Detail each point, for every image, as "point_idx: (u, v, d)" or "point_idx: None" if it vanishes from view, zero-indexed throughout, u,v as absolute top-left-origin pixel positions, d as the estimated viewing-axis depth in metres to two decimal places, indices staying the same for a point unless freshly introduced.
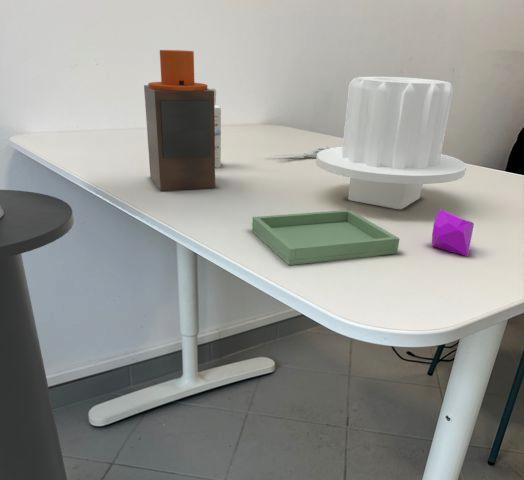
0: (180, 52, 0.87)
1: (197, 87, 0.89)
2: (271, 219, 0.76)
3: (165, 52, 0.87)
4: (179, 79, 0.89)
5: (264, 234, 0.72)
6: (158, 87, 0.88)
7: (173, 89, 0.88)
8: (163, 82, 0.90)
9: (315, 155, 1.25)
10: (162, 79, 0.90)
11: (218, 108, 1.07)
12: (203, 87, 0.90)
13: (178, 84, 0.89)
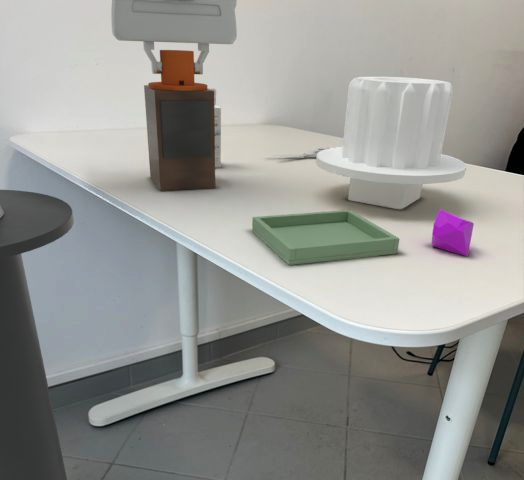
0: (180, 52, 0.87)
1: (197, 87, 0.89)
2: (271, 219, 0.76)
3: (165, 52, 0.87)
4: (179, 79, 0.89)
5: (264, 234, 0.72)
6: (158, 87, 0.88)
7: (173, 89, 0.88)
8: (163, 82, 0.90)
9: (315, 155, 1.25)
10: (162, 79, 0.90)
11: (218, 108, 1.07)
12: (203, 87, 0.90)
13: (178, 84, 0.89)
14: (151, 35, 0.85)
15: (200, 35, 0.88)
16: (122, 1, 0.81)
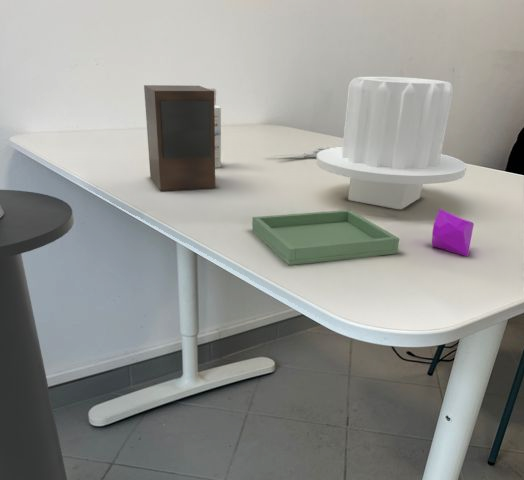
0: None
1: None
2: (271, 219, 0.76)
3: None
4: None
5: (264, 234, 0.72)
6: None
7: None
8: None
9: (315, 155, 1.25)
10: None
11: (218, 108, 1.07)
12: None
13: None
14: None
15: None
16: None
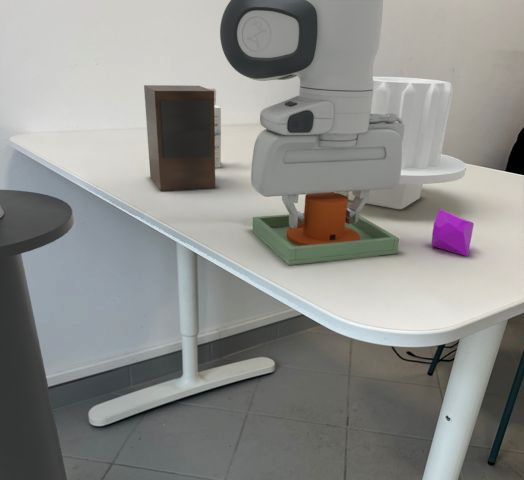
0: (336, 203, 0.69)
1: None
2: (271, 219, 0.76)
3: (316, 203, 0.69)
4: (330, 234, 0.71)
5: (264, 234, 0.72)
6: None
7: None
8: (308, 235, 0.72)
9: None
10: (306, 231, 0.72)
11: (218, 108, 1.07)
12: None
13: (328, 239, 0.71)
14: (302, 188, 0.67)
15: (359, 183, 0.70)
16: (274, 154, 0.63)
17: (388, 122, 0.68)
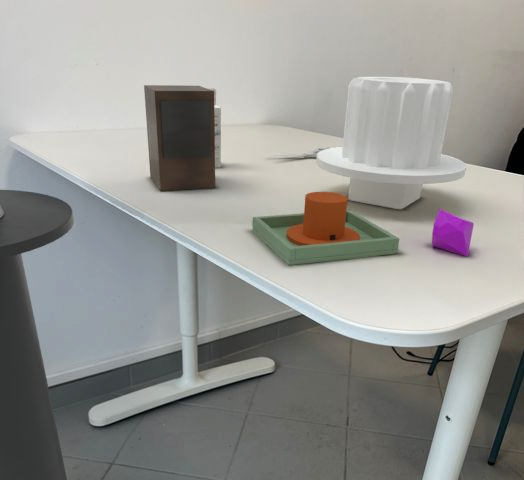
0: (336, 203, 0.69)
1: None
2: (271, 219, 0.76)
3: (316, 203, 0.69)
4: (330, 234, 0.71)
5: (264, 234, 0.72)
6: None
7: None
8: (308, 235, 0.72)
9: (315, 155, 1.25)
10: (306, 231, 0.72)
11: (218, 108, 1.07)
12: None
13: (328, 239, 0.71)
14: None
15: None
16: None
17: None
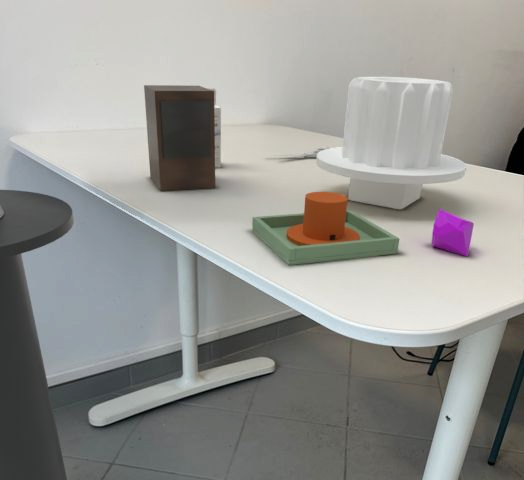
0: (336, 203, 0.69)
1: None
2: (271, 219, 0.76)
3: (316, 203, 0.69)
4: (330, 234, 0.71)
5: (264, 234, 0.72)
6: None
7: None
8: (308, 235, 0.72)
9: (315, 155, 1.25)
10: (306, 231, 0.72)
11: (218, 108, 1.07)
12: None
13: (328, 239, 0.71)
14: None
15: None
16: None
17: None
